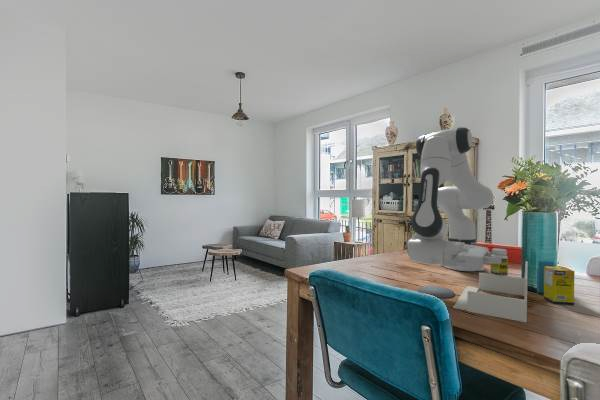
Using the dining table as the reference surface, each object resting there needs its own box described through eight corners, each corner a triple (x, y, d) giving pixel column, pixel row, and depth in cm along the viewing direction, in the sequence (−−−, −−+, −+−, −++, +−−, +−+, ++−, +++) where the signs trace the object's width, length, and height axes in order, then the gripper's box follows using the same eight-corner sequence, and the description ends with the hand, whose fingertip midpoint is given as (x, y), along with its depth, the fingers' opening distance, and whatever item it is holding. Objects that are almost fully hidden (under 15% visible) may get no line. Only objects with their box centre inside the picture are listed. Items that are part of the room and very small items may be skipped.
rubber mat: (423, 285, 124) (423, 284, 124) (457, 291, 117) (457, 289, 117) (414, 293, 114) (414, 292, 114) (450, 300, 107) (451, 298, 107)
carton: (467, 286, 123) (467, 255, 122) (527, 295, 112) (527, 261, 112) (452, 308, 100) (453, 269, 99) (526, 322, 89) (527, 278, 89)
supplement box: (574, 305, 103) (575, 270, 102) (553, 304, 104) (553, 270, 104) (563, 299, 108) (564, 266, 108) (543, 298, 110) (543, 266, 109)
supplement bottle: (501, 277, 102) (501, 251, 101) (487, 274, 106) (487, 248, 106) (511, 276, 104) (511, 249, 103) (497, 272, 108) (497, 247, 108)
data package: (531, 285, 125) (531, 254, 124) (545, 287, 123) (546, 255, 122) (538, 294, 114) (538, 260, 114) (554, 296, 112) (554, 261, 112)
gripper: (449, 250, 104) (500, 254, 96) (460, 241, 120) (504, 244, 112) (449, 269, 104) (499, 276, 96) (460, 258, 121) (504, 262, 113)
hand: (502, 259), depth 104 cm, fingers closed on supplement bottle, 5 cm apart
